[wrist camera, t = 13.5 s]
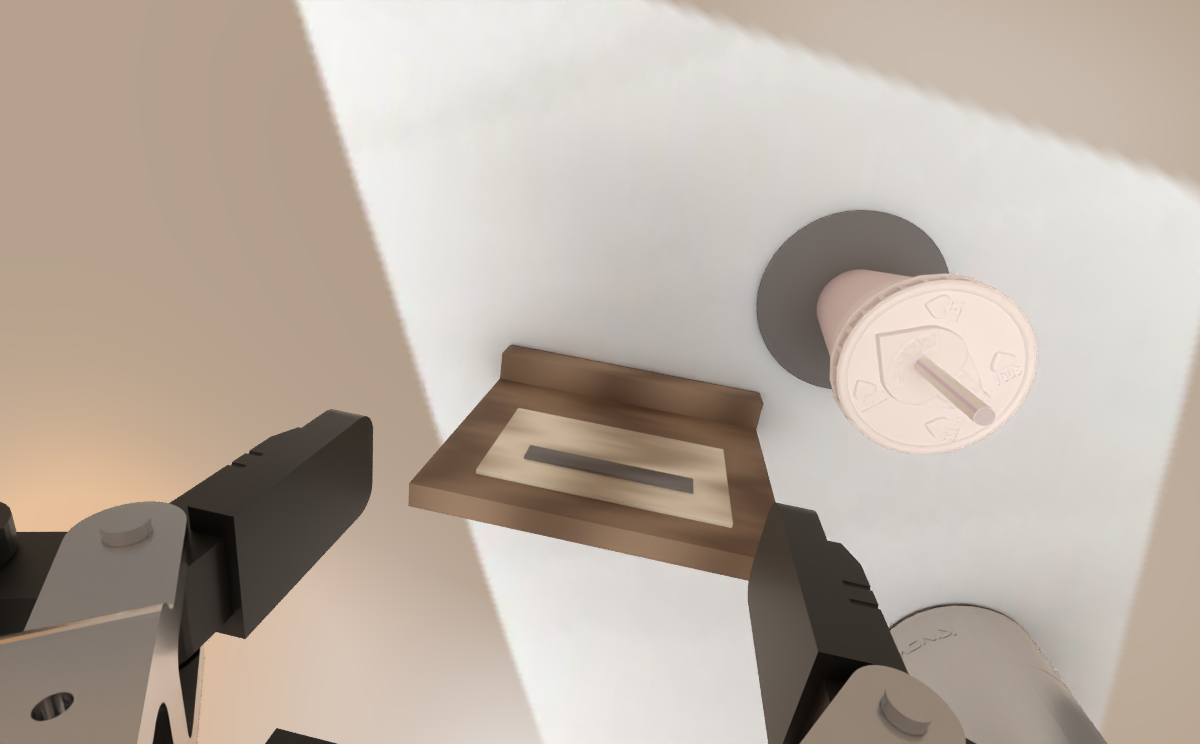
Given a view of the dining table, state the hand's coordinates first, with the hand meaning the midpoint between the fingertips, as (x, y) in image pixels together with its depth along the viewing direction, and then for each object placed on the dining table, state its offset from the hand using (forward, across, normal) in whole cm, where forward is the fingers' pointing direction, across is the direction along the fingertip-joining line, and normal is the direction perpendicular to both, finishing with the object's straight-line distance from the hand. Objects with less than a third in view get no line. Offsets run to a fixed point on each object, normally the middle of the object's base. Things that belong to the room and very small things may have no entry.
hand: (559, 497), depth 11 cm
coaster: (+20, -11, -1) cm, 23 cm away
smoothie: (+20, -11, -1) cm, 23 cm away
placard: (+20, 0, +6) cm, 21 cm away
